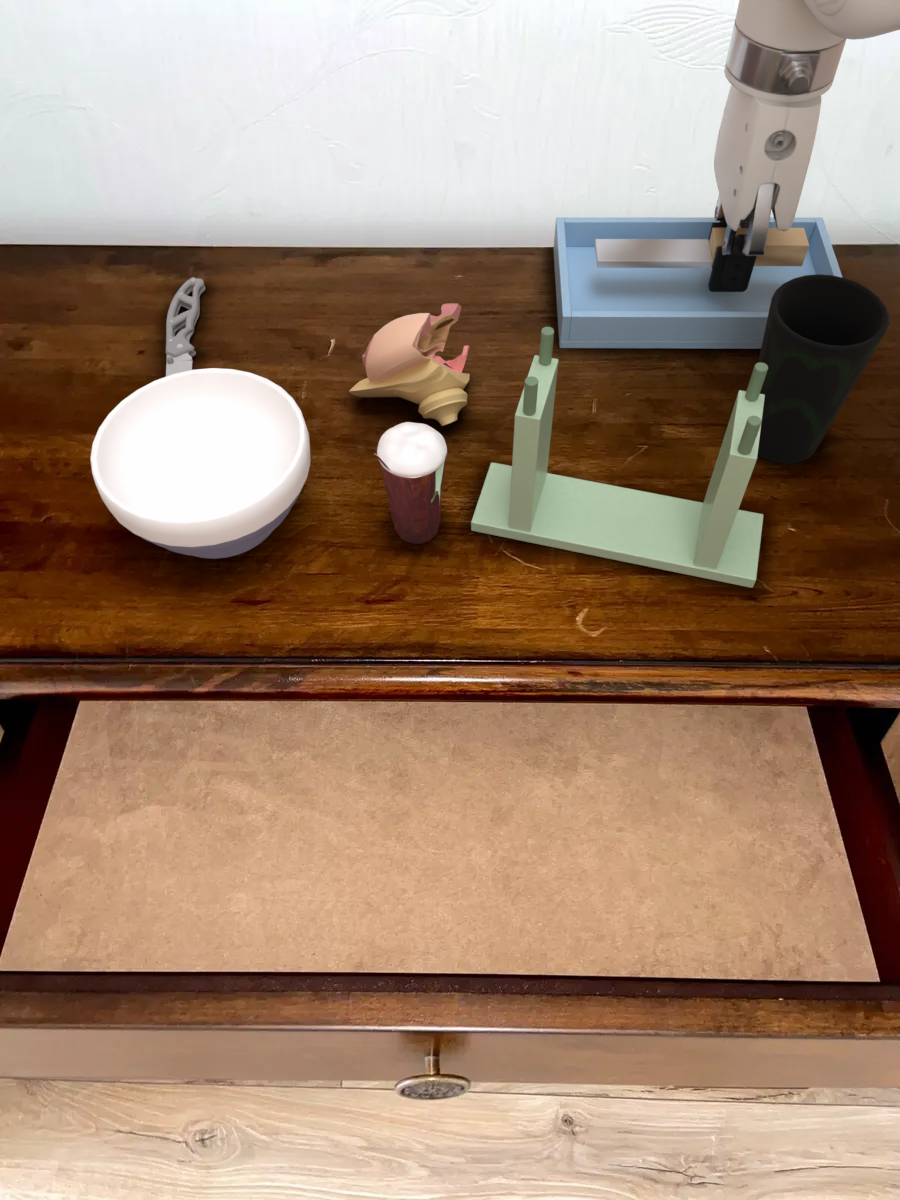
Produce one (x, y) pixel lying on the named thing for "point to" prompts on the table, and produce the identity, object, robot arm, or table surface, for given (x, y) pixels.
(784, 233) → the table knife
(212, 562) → the table surface
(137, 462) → the bowl
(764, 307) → the tray
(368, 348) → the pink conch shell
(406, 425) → the milkshake
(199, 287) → the knife
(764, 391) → the cup
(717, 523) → the rack
